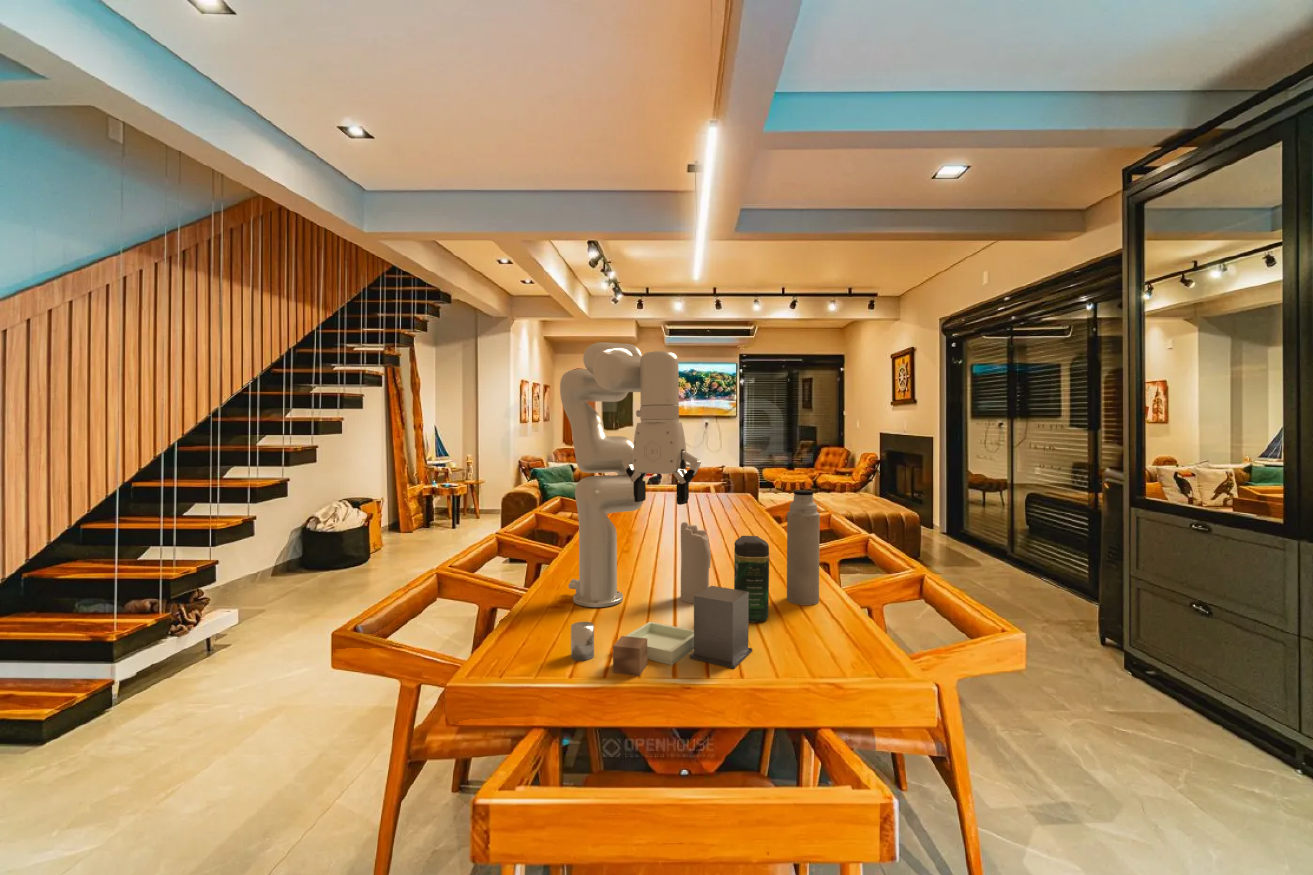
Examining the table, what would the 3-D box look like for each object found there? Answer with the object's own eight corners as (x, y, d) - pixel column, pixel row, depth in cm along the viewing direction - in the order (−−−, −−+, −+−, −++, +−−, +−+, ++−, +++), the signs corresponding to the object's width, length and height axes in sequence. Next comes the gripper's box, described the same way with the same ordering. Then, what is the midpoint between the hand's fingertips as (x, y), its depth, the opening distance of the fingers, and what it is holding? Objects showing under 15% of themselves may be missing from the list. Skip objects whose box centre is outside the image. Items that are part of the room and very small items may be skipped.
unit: (689, 658, 111) (689, 596, 110) (709, 642, 119) (709, 584, 118) (734, 668, 106) (734, 603, 106) (752, 651, 114) (752, 591, 114)
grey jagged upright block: (732, 607, 141) (732, 525, 141) (677, 602, 145) (677, 522, 145) (736, 598, 148) (737, 520, 148) (684, 593, 152) (684, 518, 152)
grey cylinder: (566, 658, 111) (566, 627, 111) (580, 650, 115) (580, 620, 115) (584, 662, 109) (584, 631, 109) (598, 654, 113) (598, 624, 112)
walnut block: (613, 673, 104) (613, 645, 104) (622, 661, 109) (621, 635, 109) (639, 676, 103) (639, 648, 103) (647, 664, 108) (647, 638, 108)
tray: (618, 652, 114) (618, 639, 113) (649, 633, 124) (649, 621, 124) (672, 665, 108) (672, 651, 107) (700, 643, 118) (700, 631, 118)
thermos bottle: (792, 593, 152) (793, 487, 151) (823, 598, 148) (823, 489, 147) (782, 601, 145) (782, 491, 145) (813, 607, 141) (814, 493, 140)
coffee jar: (771, 623, 130) (772, 541, 129) (736, 623, 130) (736, 541, 129) (765, 609, 139) (765, 533, 139) (732, 609, 140) (732, 533, 139)
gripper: (612, 416, 115) (613, 502, 115) (689, 413, 105) (690, 507, 106) (633, 416, 121) (634, 498, 121) (708, 414, 112) (708, 502, 112)
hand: (660, 502), depth 113 cm, fingers open, 9 cm apart
